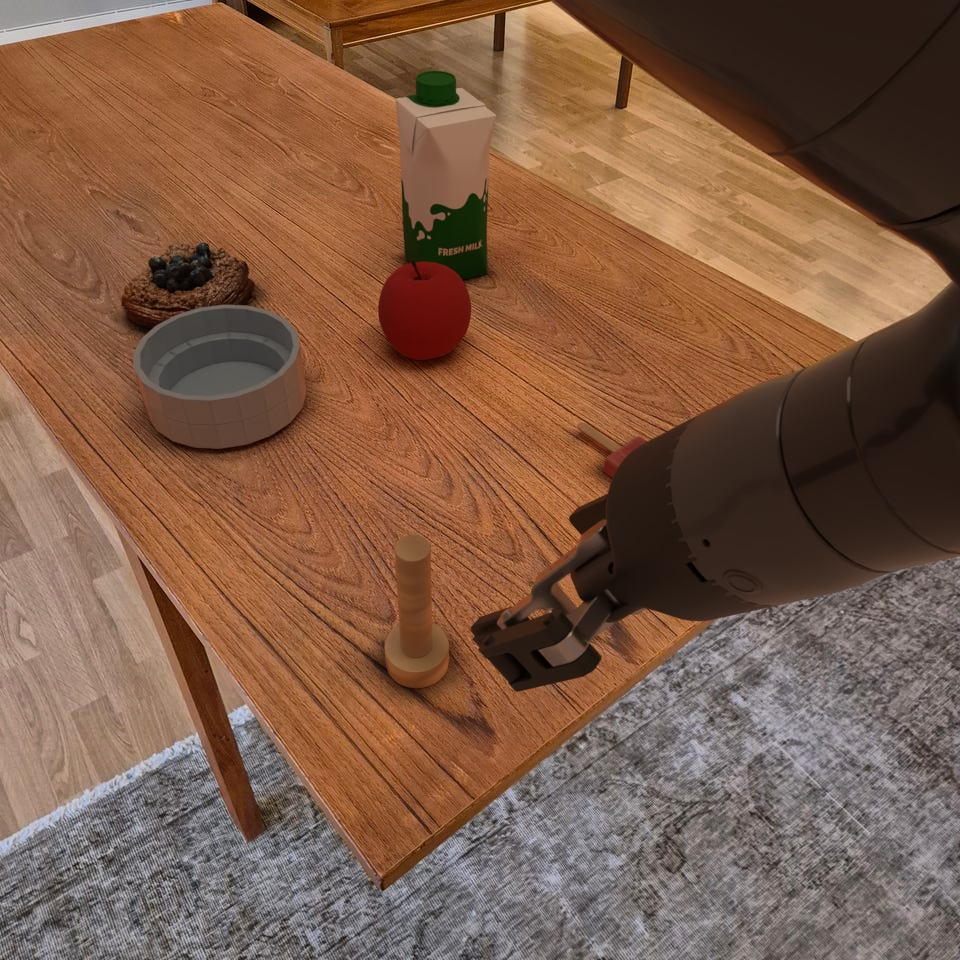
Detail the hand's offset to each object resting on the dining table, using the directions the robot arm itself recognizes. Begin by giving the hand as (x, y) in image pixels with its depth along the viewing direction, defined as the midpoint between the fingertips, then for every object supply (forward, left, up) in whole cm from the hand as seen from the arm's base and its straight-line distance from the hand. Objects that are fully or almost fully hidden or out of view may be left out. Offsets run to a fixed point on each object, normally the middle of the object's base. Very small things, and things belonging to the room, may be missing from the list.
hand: (536, 581), depth 46 cm
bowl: (-2, +43, -17) cm, 47 cm away
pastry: (+1, +60, -17) cm, 63 cm away
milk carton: (+28, +53, -17) cm, 63 cm away
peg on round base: (-2, +9, -17) cm, 20 cm away
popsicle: (+24, +15, -17) cm, 33 cm away
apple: (+18, +41, -17) cm, 48 cm away
